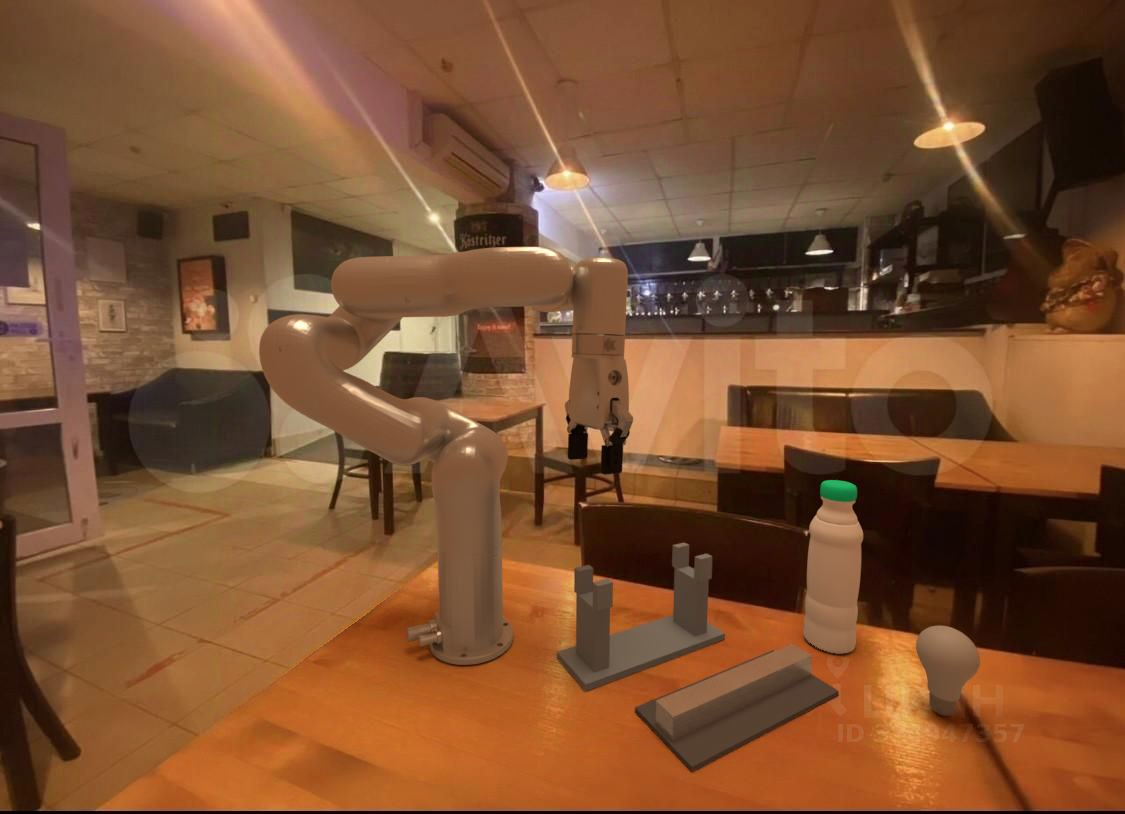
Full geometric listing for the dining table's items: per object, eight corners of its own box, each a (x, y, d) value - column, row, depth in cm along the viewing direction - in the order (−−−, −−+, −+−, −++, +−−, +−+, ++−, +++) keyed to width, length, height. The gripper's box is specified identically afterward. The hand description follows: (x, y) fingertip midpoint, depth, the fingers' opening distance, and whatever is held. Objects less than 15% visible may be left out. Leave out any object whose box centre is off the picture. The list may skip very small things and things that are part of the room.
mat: (691, 772, 52) (691, 766, 52) (634, 711, 61) (635, 707, 61) (838, 695, 64) (838, 690, 64) (773, 653, 73) (773, 650, 73)
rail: (672, 741, 56) (673, 716, 55) (655, 724, 58) (656, 700, 58) (810, 676, 67) (812, 655, 66) (791, 663, 69) (792, 643, 69)
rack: (585, 691, 65) (586, 593, 63) (557, 658, 72) (557, 568, 70) (724, 639, 76) (728, 555, 75) (688, 615, 83) (691, 538, 82)
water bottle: (842, 630, 79) (852, 477, 76) (864, 657, 72) (876, 489, 69) (796, 628, 80) (804, 476, 77) (813, 654, 73) (823, 488, 70)
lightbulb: (960, 703, 63) (968, 620, 61) (983, 738, 57) (992, 648, 56) (904, 692, 65) (910, 612, 63) (920, 725, 59) (928, 638, 58)
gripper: (656, 349, 65) (649, 477, 67) (590, 348, 80) (586, 452, 82) (607, 348, 61) (602, 482, 63) (548, 347, 77) (545, 455, 79)
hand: (593, 465), depth 73 cm, fingers open, 9 cm apart
